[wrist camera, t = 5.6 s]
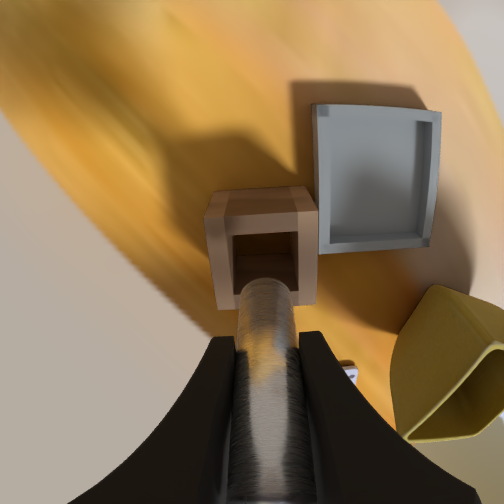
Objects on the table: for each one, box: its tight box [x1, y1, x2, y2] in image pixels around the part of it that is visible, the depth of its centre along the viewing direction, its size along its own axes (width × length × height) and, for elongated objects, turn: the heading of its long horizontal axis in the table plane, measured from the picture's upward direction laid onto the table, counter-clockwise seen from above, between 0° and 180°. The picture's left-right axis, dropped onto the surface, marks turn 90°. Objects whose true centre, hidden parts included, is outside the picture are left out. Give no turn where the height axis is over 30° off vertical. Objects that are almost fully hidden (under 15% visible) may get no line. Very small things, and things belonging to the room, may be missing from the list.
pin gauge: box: [226, 278, 317, 504], centre depth 9 cm, size 2×2×8 cm
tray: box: [311, 104, 442, 254], centre depth 16 cm, size 8×7×2 cm
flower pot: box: [390, 285, 504, 443], centre depth 18 cm, size 9×9×9 cm
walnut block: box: [203, 186, 318, 310], centre depth 17 cm, size 5×5×4 cm
